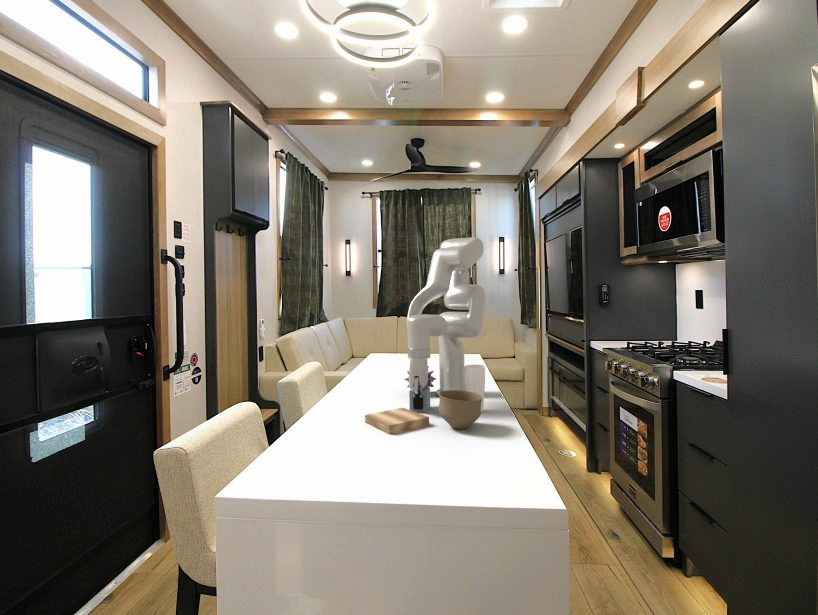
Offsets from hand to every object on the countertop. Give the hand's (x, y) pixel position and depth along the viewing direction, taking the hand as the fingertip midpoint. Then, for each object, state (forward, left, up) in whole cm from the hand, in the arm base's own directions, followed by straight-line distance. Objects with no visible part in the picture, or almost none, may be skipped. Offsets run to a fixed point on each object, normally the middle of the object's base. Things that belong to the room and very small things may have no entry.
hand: (420, 406), depth 155 cm
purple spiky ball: (-13, -18, -1) cm, 22 cm away
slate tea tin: (0, 0, -1) cm, 1 cm away
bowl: (+2, +23, -1) cm, 23 cm away
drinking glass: (-13, +13, -1) cm, 18 cm away
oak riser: (+15, +9, -2) cm, 18 cm away
